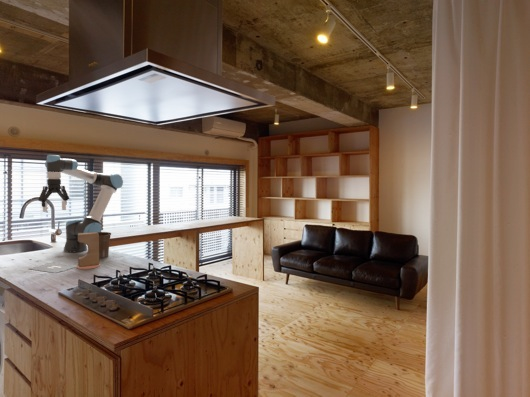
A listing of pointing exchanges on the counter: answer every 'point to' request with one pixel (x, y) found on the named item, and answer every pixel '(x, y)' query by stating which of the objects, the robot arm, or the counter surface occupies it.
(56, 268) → the tile
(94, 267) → the coaster
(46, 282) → the counter surface
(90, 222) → the robot arm
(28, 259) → the counter surface
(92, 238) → the decorative block
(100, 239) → the plant pot
